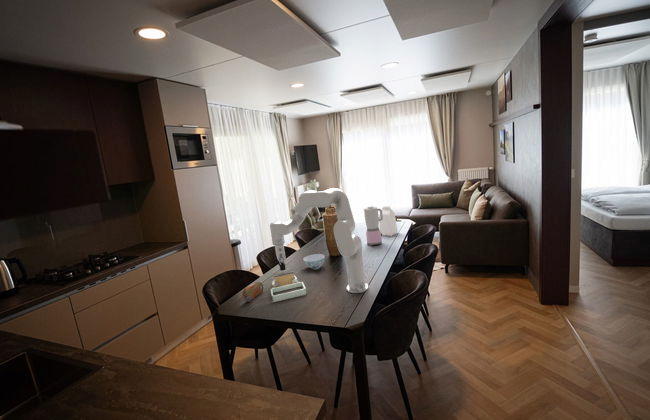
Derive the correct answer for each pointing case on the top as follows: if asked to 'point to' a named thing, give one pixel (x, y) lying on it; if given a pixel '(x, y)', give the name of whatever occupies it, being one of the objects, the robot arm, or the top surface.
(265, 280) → the top surface
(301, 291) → the tray
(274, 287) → the clip holder
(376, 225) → the blender
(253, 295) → the orange plastic package
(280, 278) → the tan rectangular block
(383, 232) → the milk
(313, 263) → the chinaware
